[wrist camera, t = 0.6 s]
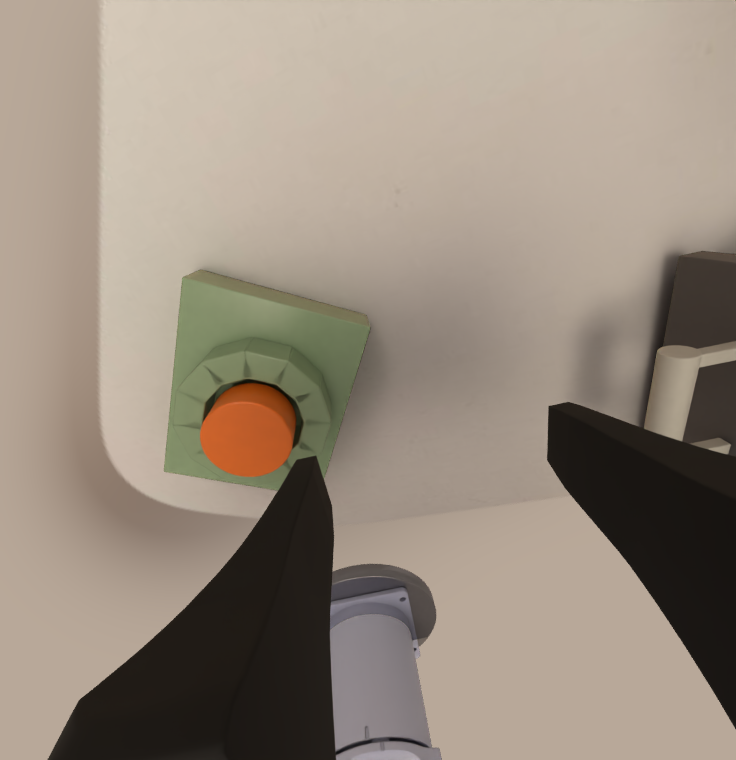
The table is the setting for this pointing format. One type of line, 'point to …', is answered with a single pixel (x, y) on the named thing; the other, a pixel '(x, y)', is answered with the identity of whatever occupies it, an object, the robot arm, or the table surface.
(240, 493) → the table surface
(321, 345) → the button housing
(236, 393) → the button
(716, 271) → the drawer
